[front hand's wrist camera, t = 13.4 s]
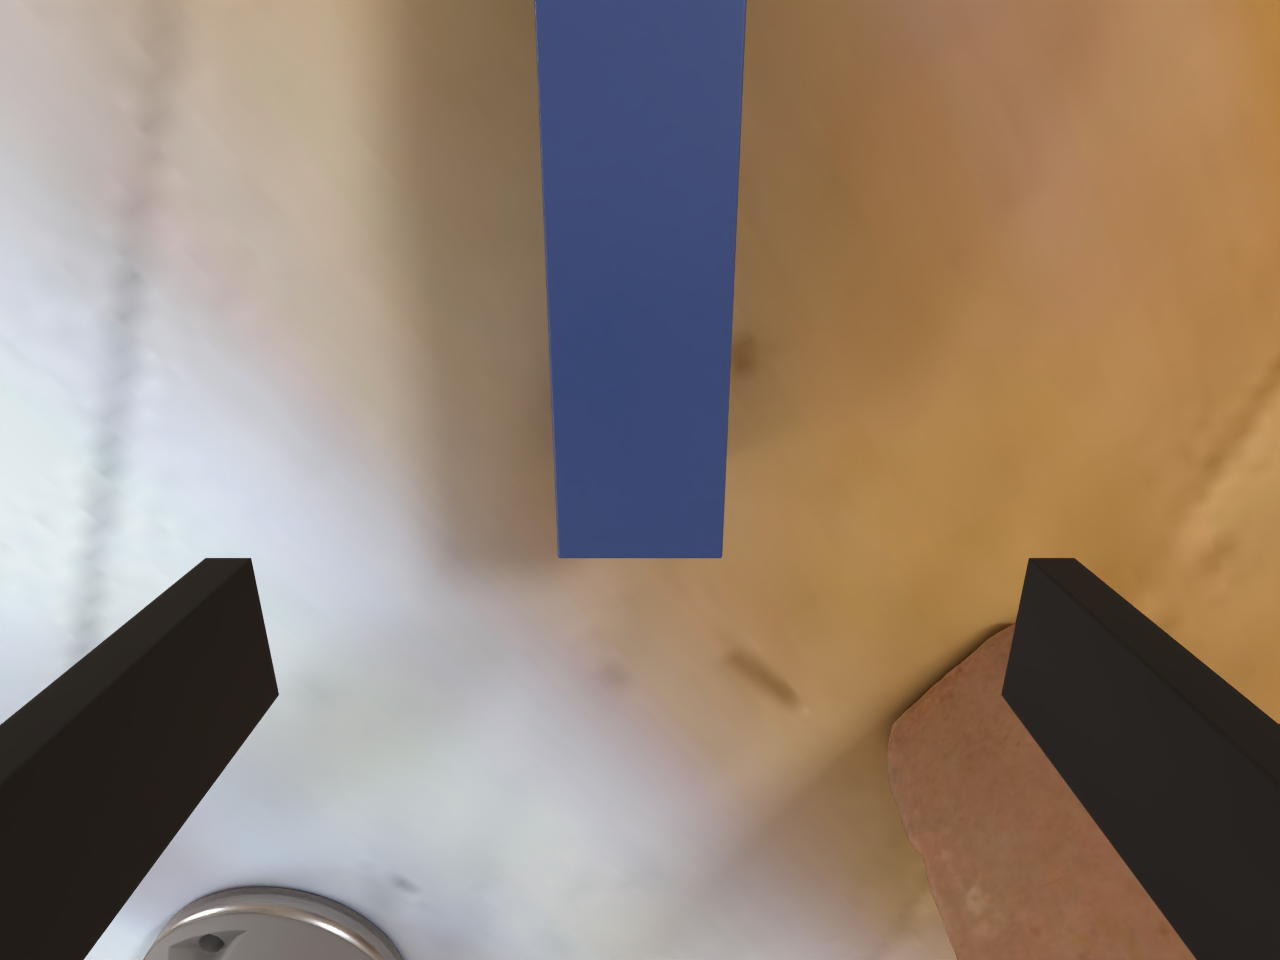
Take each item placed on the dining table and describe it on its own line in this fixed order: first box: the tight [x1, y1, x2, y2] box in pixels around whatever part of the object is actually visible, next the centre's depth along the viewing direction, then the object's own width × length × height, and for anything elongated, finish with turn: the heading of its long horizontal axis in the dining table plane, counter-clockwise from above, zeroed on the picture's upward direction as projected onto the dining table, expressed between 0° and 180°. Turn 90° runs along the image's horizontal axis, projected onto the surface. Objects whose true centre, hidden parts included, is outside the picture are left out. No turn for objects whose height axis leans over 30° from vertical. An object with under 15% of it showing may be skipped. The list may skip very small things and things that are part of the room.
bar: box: [534, 0, 746, 558], centre depth 24 cm, size 28×5×9 cm, turn 0°
